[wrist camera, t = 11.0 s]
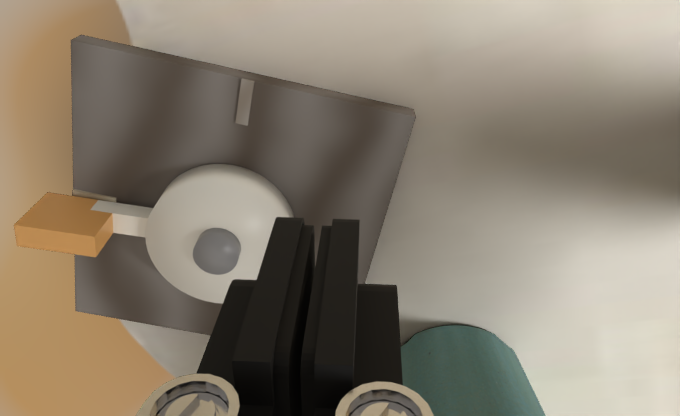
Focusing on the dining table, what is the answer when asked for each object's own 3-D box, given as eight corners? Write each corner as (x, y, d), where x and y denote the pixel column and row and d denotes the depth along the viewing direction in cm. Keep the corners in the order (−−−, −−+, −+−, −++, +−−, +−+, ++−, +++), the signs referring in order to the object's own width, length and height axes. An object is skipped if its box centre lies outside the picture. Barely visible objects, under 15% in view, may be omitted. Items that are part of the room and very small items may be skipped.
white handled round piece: (304, 176, 38) (298, 210, 34) (286, 290, 43) (280, 332, 39) (43, 135, 37) (5, 165, 33) (56, 257, 42) (24, 296, 38)
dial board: (413, 109, 37) (416, 118, 36) (341, 346, 48) (341, 360, 46) (81, 34, 35) (69, 40, 34) (83, 299, 46) (74, 312, 44)
